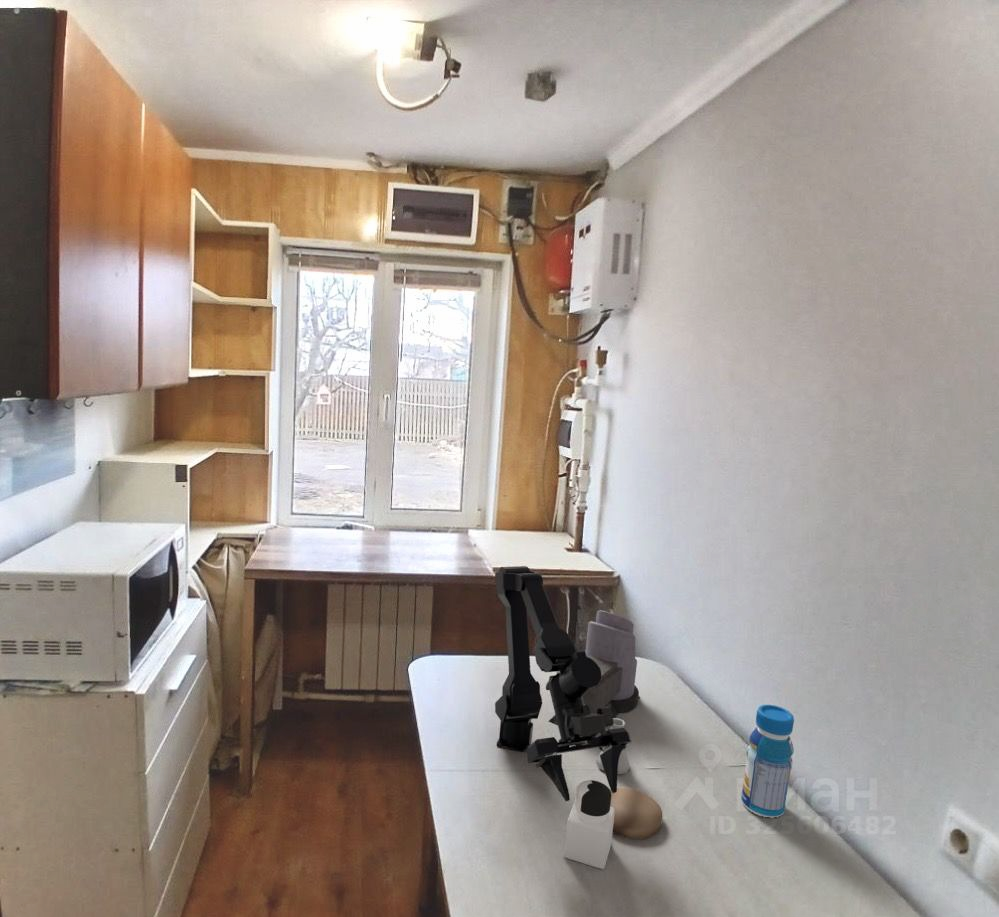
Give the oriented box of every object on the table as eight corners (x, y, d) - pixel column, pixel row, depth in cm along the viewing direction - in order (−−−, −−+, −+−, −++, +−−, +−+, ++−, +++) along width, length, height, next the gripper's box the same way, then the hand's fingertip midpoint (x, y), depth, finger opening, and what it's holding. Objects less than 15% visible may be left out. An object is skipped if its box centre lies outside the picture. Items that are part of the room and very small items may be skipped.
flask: (629, 778, 141) (634, 733, 140) (594, 771, 142) (599, 727, 141) (630, 759, 148) (635, 716, 147) (596, 753, 149) (601, 710, 148)
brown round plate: (592, 828, 124) (593, 818, 124) (601, 791, 136) (602, 781, 136) (659, 846, 121) (660, 836, 121) (662, 806, 133) (664, 796, 132)
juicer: (593, 676, 187) (602, 591, 184) (648, 694, 179) (659, 606, 175) (539, 718, 162) (549, 621, 159) (601, 743, 154) (612, 640, 150)
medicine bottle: (611, 843, 121) (618, 781, 119) (604, 870, 114) (611, 805, 113) (572, 832, 123) (578, 771, 122) (563, 857, 116) (569, 793, 115)
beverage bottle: (764, 824, 129) (778, 727, 127) (730, 798, 137) (743, 705, 134) (794, 814, 133) (808, 719, 131) (760, 789, 141) (773, 698, 138)
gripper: (538, 696, 117) (560, 794, 108) (631, 686, 124) (659, 777, 115) (517, 716, 126) (536, 809, 117) (605, 706, 132) (630, 792, 123)
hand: (591, 796), depth 118 cm, fingers open, 9 cm apart
